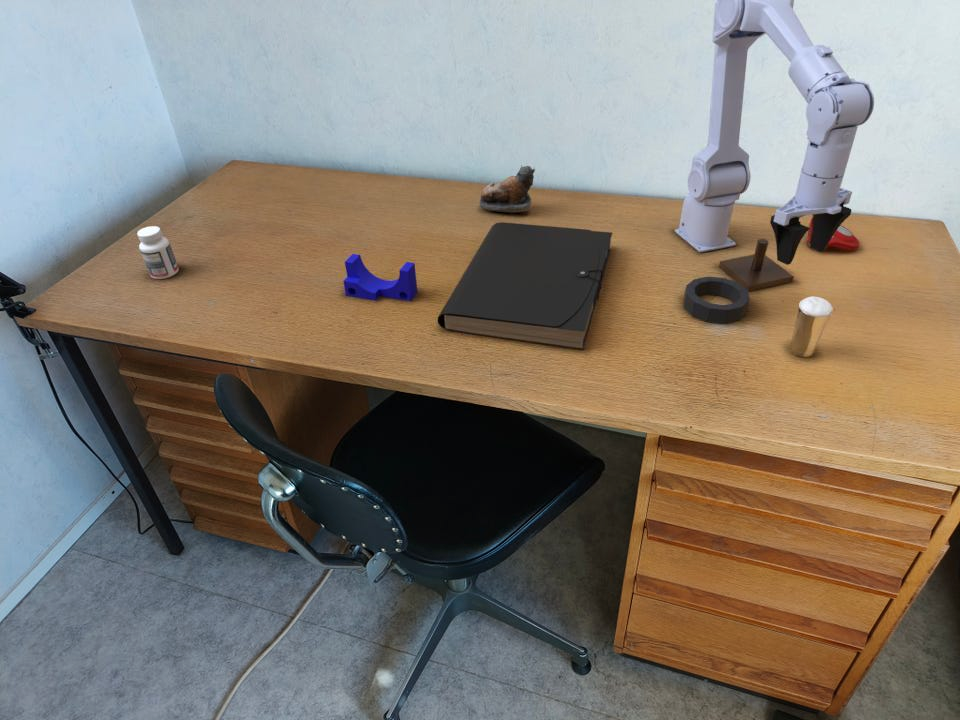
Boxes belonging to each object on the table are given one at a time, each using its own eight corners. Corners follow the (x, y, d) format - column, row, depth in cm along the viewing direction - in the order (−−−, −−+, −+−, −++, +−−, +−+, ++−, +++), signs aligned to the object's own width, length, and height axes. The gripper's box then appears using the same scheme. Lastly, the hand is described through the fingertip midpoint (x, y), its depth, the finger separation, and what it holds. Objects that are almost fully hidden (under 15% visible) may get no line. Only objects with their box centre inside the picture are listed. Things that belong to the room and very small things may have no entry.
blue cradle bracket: (345, 295, 118) (340, 266, 114) (357, 282, 121) (352, 253, 117) (407, 305, 114) (403, 276, 111) (417, 292, 118) (414, 263, 114)
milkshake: (806, 366, 98) (826, 310, 92) (778, 347, 102) (795, 292, 96) (828, 357, 100) (849, 301, 93) (799, 339, 103) (818, 284, 97)
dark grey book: (586, 329, 100) (436, 310, 106) (584, 350, 103) (438, 331, 109) (613, 230, 125) (491, 219, 131) (612, 250, 127) (491, 238, 133)
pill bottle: (168, 263, 129) (153, 221, 123) (184, 270, 126) (170, 228, 121) (144, 275, 126) (127, 233, 120) (160, 282, 123) (144, 240, 118)
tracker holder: (872, 240, 125) (845, 244, 119) (856, 259, 128) (830, 263, 122) (822, 204, 131) (795, 206, 126) (808, 223, 134) (781, 225, 128)
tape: (672, 296, 114) (674, 283, 112) (723, 286, 116) (726, 272, 114) (704, 328, 106) (707, 314, 105) (758, 316, 108) (762, 302, 107)
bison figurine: (475, 214, 141) (474, 169, 135) (484, 200, 147) (483, 156, 140) (530, 219, 139) (531, 174, 132) (537, 205, 144) (538, 160, 138)
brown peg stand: (718, 266, 121) (725, 234, 117) (760, 258, 123) (769, 225, 119) (748, 291, 114) (756, 257, 110) (792, 282, 116) (802, 248, 112)
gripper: (812, 191, 91) (789, 278, 99) (879, 169, 96) (853, 253, 104) (770, 176, 96) (752, 260, 104) (837, 156, 101) (814, 237, 109)
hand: (800, 255), depth 104 cm, fingers open, 7 cm apart
